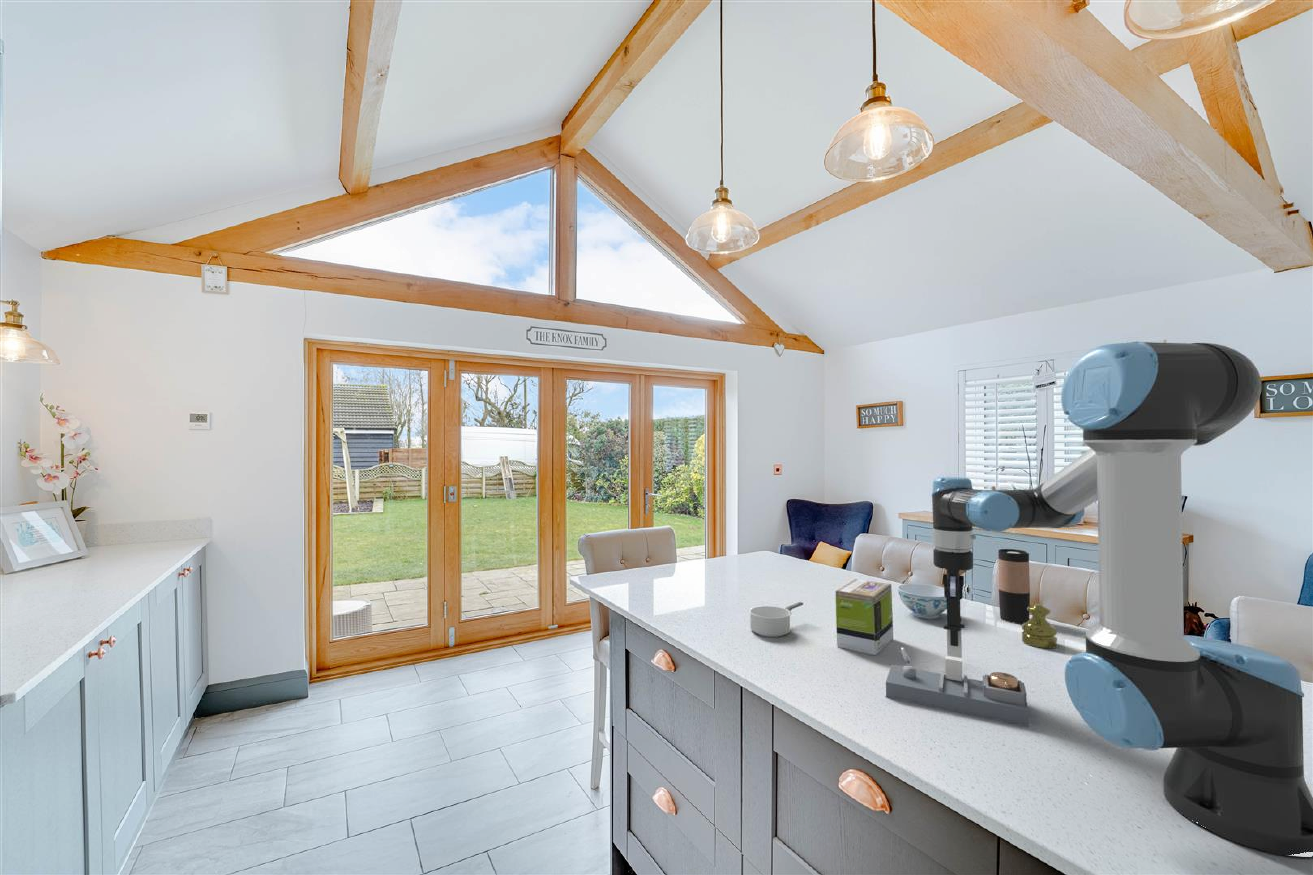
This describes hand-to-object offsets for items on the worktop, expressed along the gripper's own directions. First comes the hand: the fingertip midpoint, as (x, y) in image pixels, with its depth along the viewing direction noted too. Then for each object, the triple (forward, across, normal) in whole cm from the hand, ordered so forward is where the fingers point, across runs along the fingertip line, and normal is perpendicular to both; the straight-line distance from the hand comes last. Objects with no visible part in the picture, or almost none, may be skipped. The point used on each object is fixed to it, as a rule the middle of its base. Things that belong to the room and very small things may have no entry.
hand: (954, 659), depth 116 cm
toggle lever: (0, -9, +8) cm, 12 cm away
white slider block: (+2, -6, 0) cm, 6 cm away
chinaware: (+5, +49, +9) cm, 50 cm away
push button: (+1, -9, -9) cm, 12 cm away
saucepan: (+5, +17, +43) cm, 47 cm away
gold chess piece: (+5, +37, -18) cm, 42 cm away
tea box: (+5, +16, +21) cm, 27 cm away
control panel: (+5, -9, 0) cm, 10 cm away
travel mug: (+5, +57, -14) cm, 59 cm away
